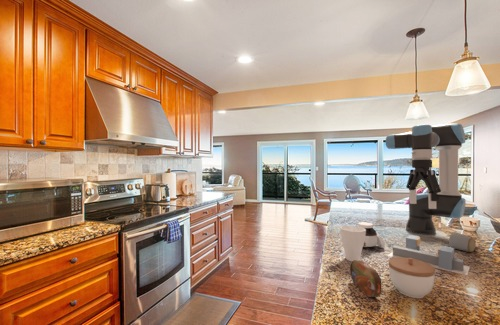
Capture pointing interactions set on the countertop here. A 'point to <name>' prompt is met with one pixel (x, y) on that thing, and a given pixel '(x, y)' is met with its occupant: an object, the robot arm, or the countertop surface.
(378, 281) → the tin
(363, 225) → the spread jar
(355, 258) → the cup
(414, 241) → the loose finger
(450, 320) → the countertop surface
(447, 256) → the fitted finger
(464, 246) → the grey cylinder
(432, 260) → the rail board
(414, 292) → the lidded bowl
